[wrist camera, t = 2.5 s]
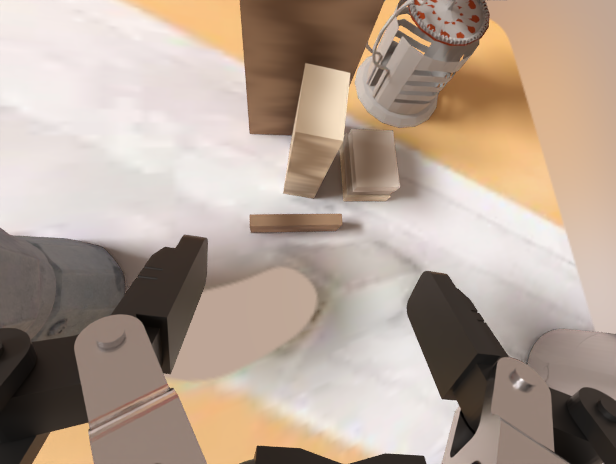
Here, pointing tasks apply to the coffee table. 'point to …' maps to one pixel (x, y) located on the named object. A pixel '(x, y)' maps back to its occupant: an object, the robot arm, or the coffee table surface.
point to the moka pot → (55, 285)
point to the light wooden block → (316, 129)
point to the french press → (418, 58)
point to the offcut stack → (368, 165)
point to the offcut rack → (297, 71)
